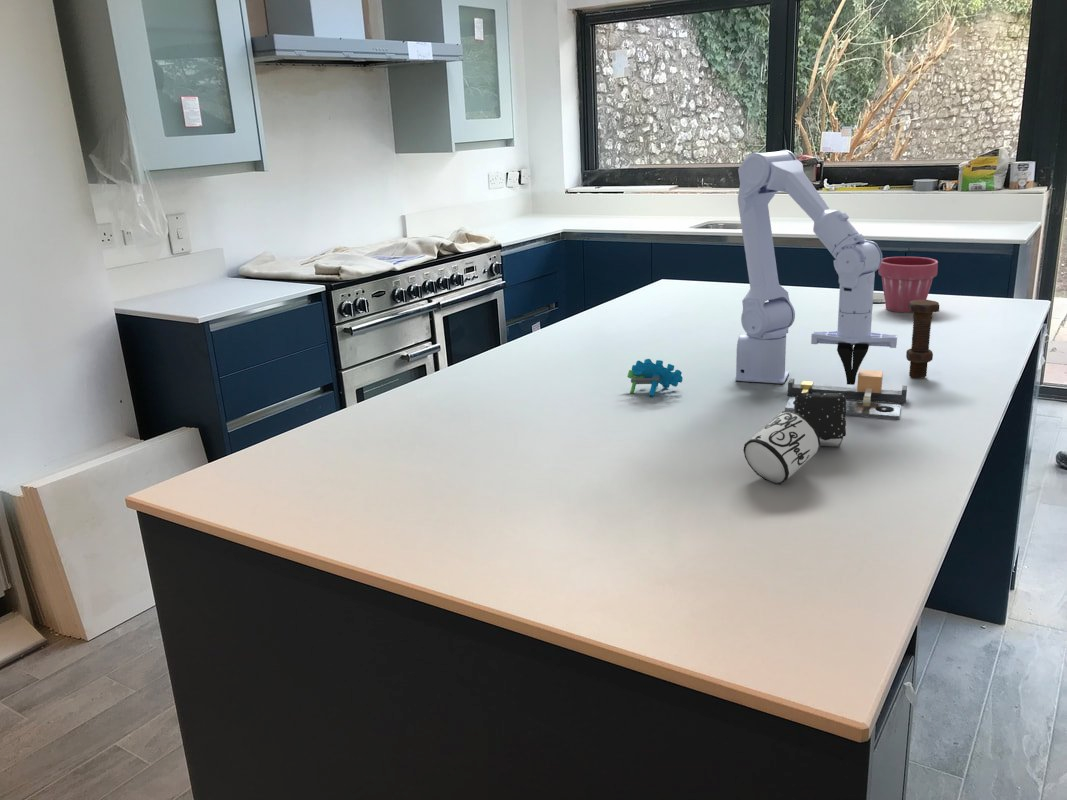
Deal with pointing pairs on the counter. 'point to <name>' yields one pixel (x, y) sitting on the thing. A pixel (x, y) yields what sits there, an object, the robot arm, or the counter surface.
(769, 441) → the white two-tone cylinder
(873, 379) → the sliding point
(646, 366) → the blue stegosaurus toy
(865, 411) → the hole plate
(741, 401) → the counter surface
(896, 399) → the rail
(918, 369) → the bolt
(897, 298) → the plant pot
